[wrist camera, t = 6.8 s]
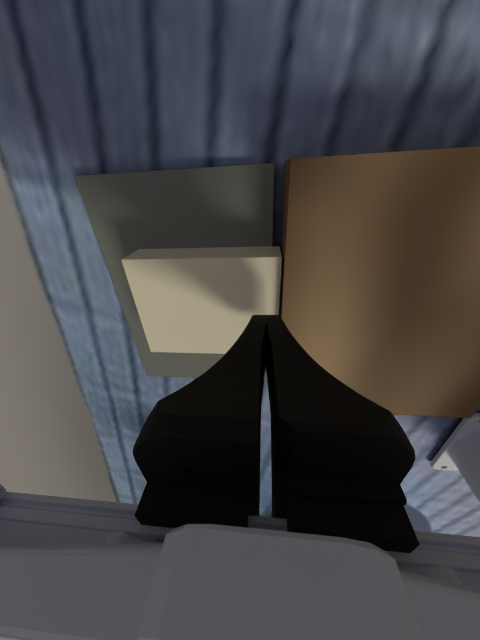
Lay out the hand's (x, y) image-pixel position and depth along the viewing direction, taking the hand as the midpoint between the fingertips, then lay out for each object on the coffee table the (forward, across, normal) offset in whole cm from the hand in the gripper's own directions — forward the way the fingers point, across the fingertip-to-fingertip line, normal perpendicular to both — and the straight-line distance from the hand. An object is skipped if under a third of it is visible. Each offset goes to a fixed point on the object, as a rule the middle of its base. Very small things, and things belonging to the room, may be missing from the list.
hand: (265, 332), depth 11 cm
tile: (+3, +3, 0) cm, 5 cm away
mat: (+4, +5, 0) cm, 6 cm away
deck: (+4, -7, 0) cm, 8 cm away
